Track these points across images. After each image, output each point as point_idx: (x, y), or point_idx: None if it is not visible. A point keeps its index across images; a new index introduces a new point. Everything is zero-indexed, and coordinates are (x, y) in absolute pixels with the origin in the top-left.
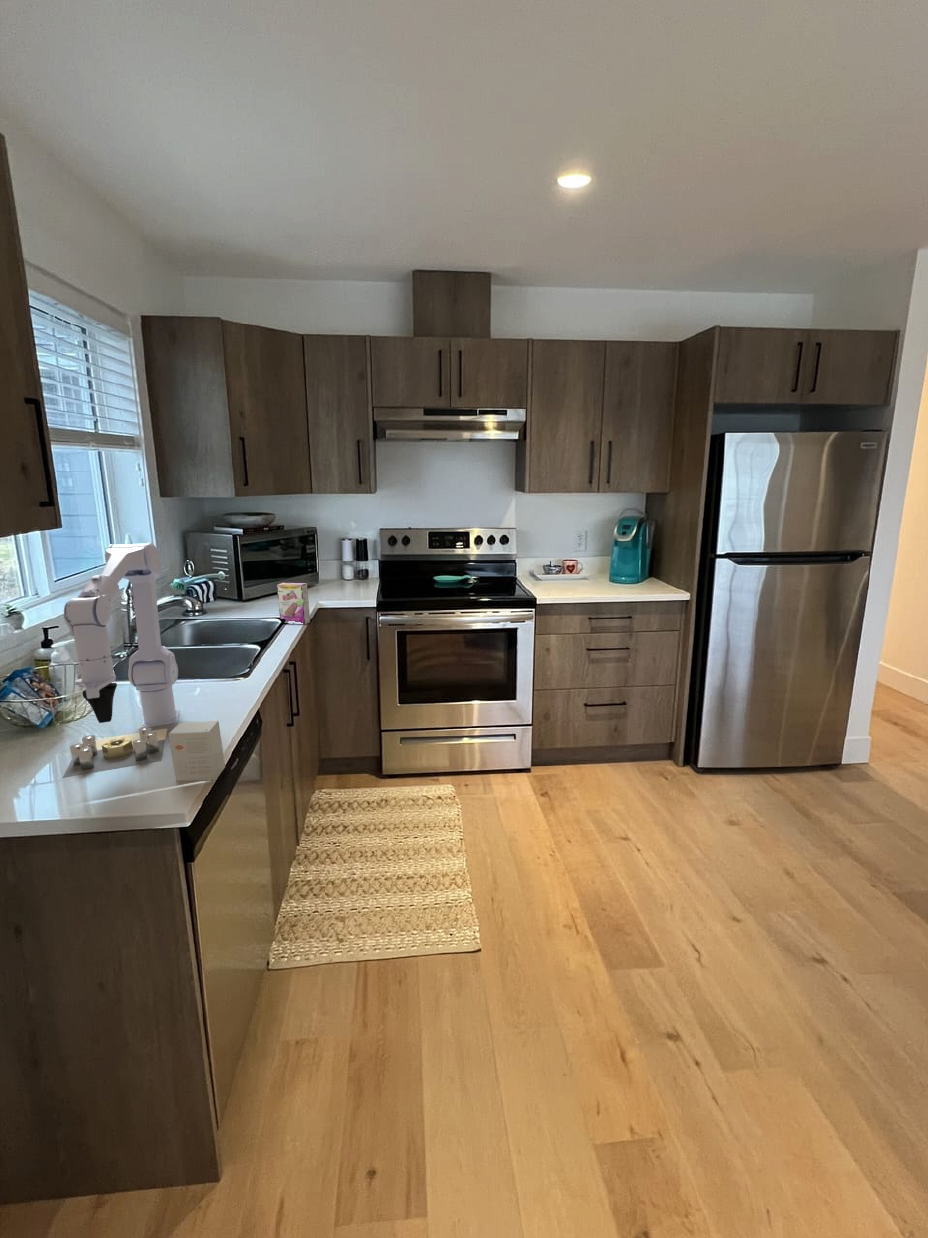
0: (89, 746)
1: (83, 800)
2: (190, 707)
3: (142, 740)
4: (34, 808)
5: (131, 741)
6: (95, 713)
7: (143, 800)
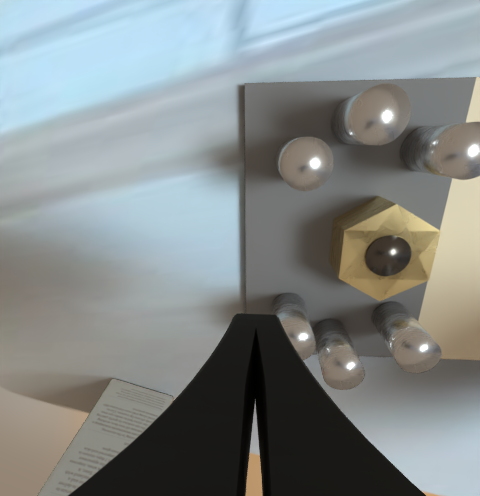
0: (421, 154)
1: (68, 186)
2: None
3: None
4: (44, 41)
5: (377, 299)
6: (212, 355)
7: (40, 321)
